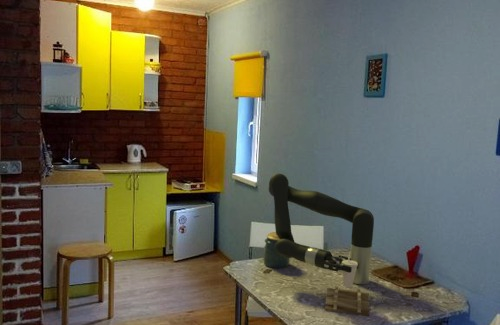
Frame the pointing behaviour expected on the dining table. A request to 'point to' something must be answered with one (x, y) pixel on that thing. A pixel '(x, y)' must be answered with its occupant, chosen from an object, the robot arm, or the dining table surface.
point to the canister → (273, 253)
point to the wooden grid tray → (347, 301)
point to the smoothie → (347, 276)
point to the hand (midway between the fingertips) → (354, 267)
